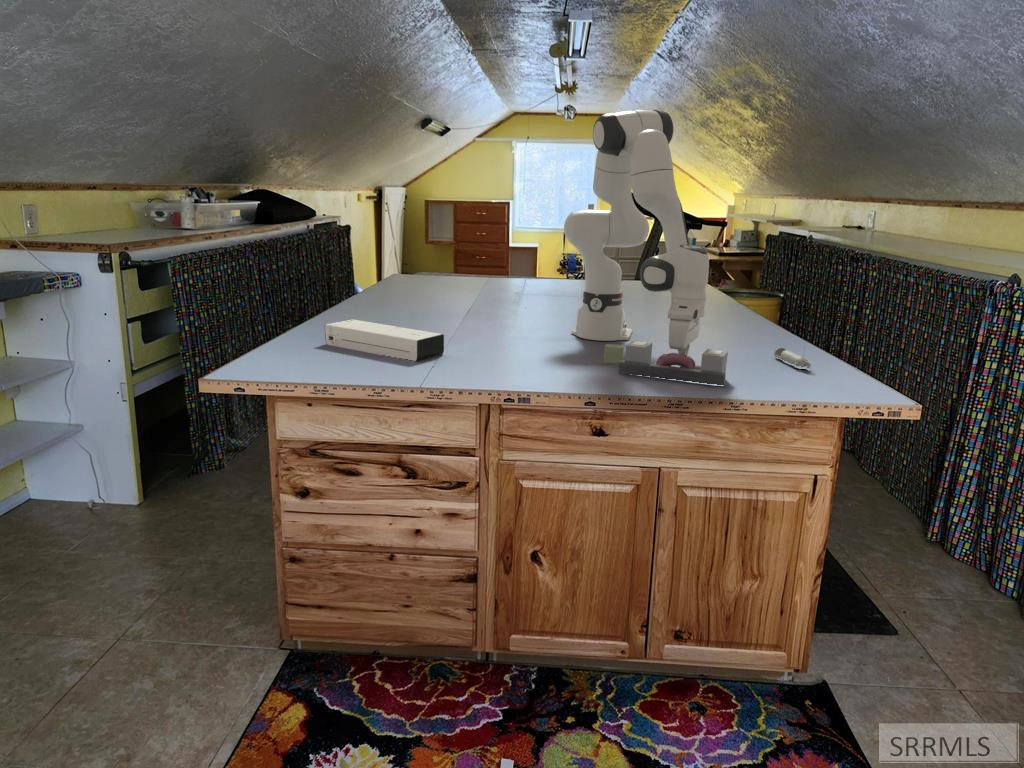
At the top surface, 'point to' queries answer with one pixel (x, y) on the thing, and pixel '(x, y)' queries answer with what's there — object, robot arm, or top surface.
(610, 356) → the block
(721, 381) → the rail bar
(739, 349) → the top surface
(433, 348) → the laminator
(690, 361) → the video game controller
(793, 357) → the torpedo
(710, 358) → the mounted modules
